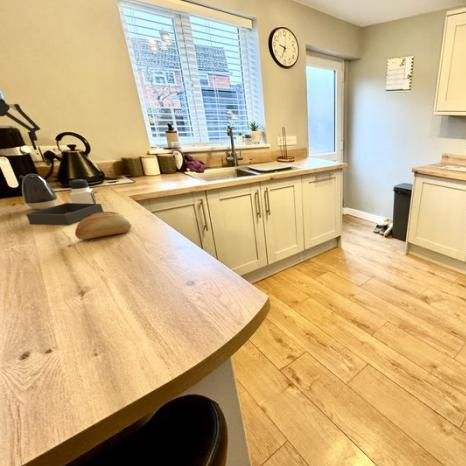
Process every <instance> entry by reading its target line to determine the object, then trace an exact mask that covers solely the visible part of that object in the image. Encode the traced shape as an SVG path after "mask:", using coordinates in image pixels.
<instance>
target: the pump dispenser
mask: <svg viewBox="0 0 466 466" xmlns="http://www.w3.org/2000/svg"><path fill="white" fill-rule="evenodd" d="M19 179H22V184H21V193H22V198H23V202H24V204H26V205H27V206H28V207H29V208H31V209H33V210H37V211H39V210H43V209H46V208H50V207H53V206H56V205H57V199H58V197H57V194H56V193H55V191H54V189H53V188H52V186H51V185H50V184H49V183H48V182H47V180H45V179H44V178H43V177H42V176H41V175H39V174H37V173H36V174H35V173H29V174H26V175H25V176H24V175H19Z"/></svg>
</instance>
